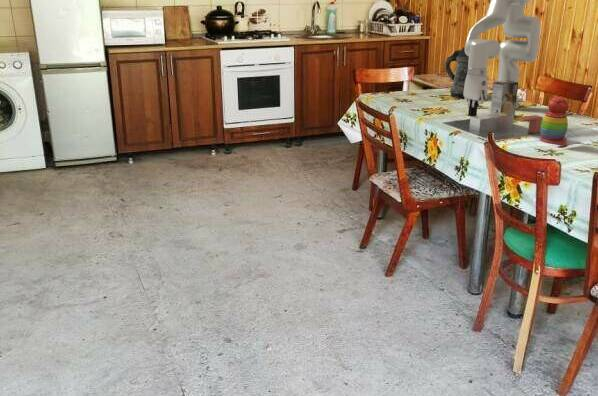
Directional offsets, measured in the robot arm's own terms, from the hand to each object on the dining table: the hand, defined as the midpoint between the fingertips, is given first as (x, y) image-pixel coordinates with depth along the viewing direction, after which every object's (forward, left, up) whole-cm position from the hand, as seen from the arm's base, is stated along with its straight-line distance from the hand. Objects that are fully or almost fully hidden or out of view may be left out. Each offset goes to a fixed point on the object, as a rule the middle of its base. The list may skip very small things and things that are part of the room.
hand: (472, 115), depth 246 cm
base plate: (-3, +9, -5) cm, 10 cm away
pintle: (-8, +9, -4) cm, 13 cm away
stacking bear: (-10, +35, -5) cm, 37 cm away
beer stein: (-37, -52, -5) cm, 64 cm away
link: (-3, +9, -4) cm, 10 cm away
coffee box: (-22, -6, -5) cm, 24 cm away
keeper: (-11, +21, -4) cm, 24 cm away
